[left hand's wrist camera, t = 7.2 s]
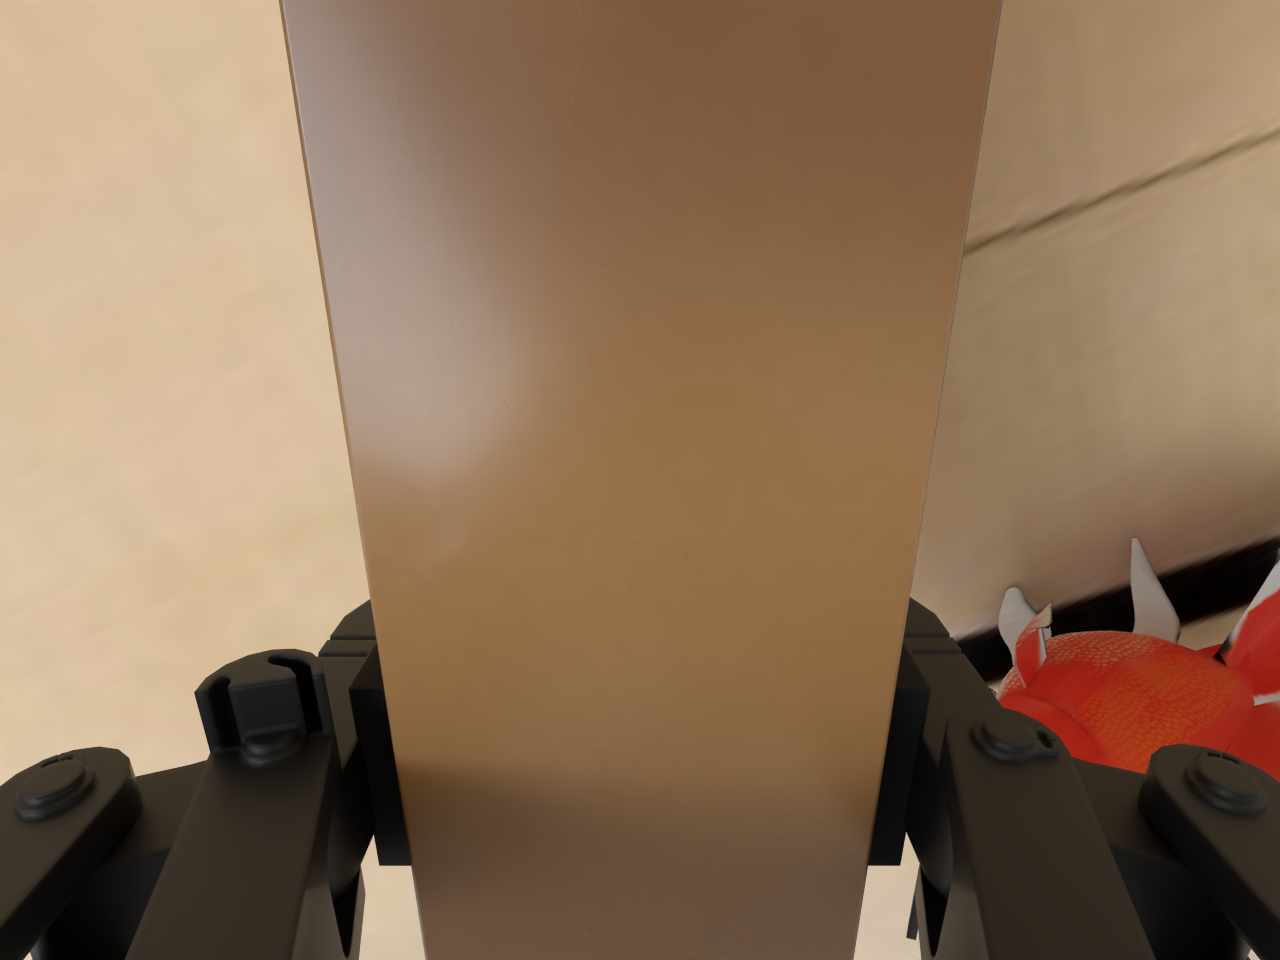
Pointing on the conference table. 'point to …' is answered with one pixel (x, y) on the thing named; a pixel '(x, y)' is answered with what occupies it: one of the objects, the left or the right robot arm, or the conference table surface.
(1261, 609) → the fish
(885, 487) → the bar
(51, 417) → the conference table surface
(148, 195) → the conference table surface
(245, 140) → the conference table surface
